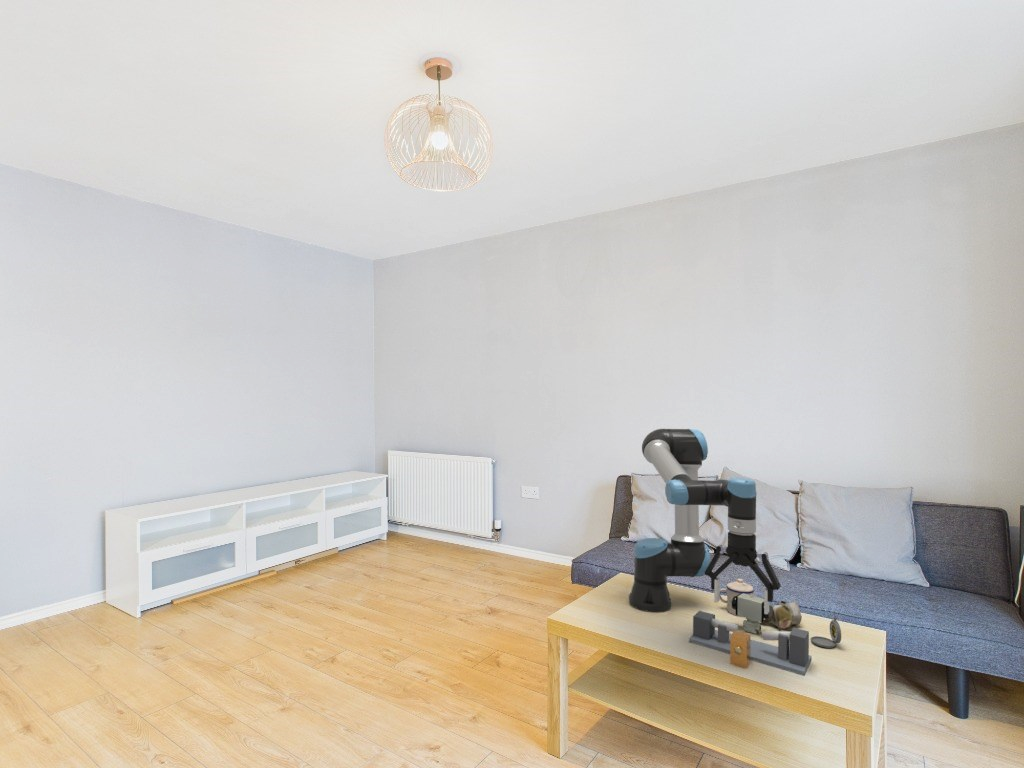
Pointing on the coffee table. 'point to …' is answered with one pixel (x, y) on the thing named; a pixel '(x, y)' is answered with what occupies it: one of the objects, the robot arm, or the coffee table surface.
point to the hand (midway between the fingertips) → (741, 606)
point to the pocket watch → (833, 629)
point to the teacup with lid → (735, 592)
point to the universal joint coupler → (740, 649)
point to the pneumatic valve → (751, 611)
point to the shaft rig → (755, 643)
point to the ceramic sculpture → (785, 615)
